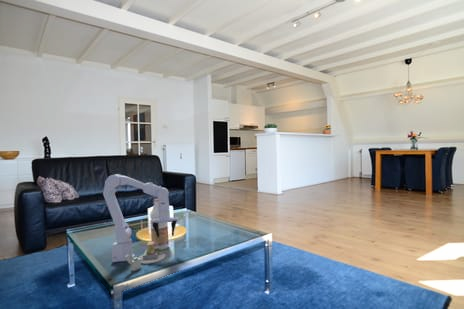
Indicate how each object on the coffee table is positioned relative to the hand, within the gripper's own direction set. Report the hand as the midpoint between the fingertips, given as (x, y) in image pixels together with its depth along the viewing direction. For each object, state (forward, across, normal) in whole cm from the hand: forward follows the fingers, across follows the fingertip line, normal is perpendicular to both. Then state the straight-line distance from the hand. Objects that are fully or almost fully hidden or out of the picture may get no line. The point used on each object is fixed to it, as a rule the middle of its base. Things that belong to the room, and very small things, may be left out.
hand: (165, 236), depth 148 cm
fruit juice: (+10, -5, +12) cm, 16 cm away
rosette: (+10, -7, -5) cm, 13 cm away
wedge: (+8, -7, -5) cm, 12 cm away
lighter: (+10, -13, -18) cm, 24 cm away
